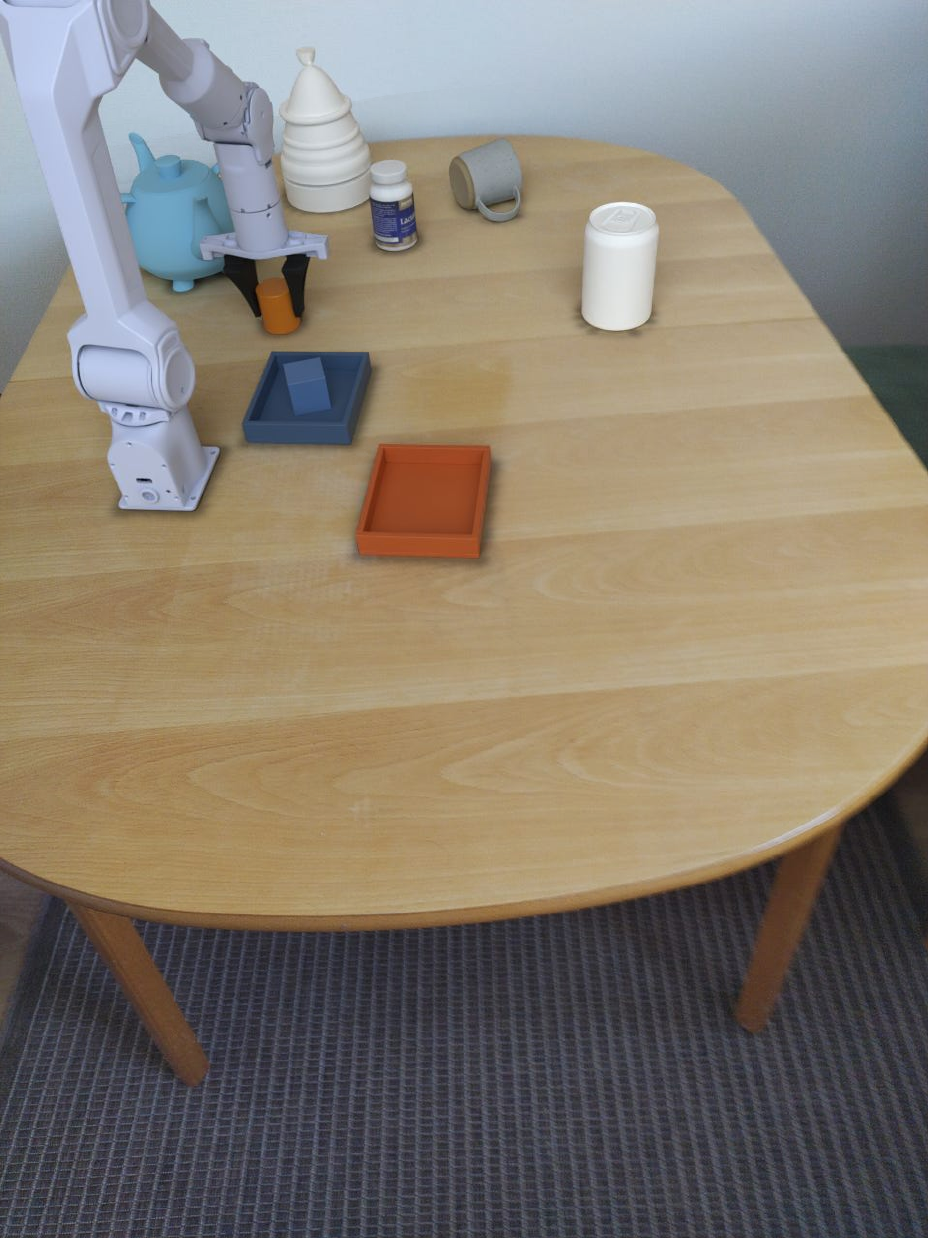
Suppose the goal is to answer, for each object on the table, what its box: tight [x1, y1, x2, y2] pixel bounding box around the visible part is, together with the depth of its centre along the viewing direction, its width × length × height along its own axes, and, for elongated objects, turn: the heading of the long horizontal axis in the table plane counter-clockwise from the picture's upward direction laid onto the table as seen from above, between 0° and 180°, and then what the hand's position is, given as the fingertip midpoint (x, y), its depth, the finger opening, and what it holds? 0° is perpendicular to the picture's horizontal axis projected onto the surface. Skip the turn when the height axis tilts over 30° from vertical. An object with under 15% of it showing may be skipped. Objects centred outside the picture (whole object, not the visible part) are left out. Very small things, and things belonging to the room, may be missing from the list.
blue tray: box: [241, 350, 372, 446], centre depth 103 cm, size 13×11×2 cm
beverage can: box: [581, 201, 660, 332], centre depth 107 cm, size 8×8×12 cm
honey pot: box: [278, 46, 373, 213], centre depth 131 cm, size 13×13×18 cm
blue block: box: [283, 357, 331, 416], centre depth 102 cm, size 4×4×4 cm
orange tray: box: [355, 443, 492, 559], centre depth 90 cm, size 13×11×2 cm
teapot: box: [120, 132, 235, 293], centre depth 120 cm, size 16×20×14 cm
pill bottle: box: [369, 159, 418, 252], centre depth 123 cm, size 6×6×10 cm
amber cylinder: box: [255, 277, 302, 335], centre depth 113 cm, size 4×4×5 cm
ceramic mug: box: [448, 137, 524, 223], centre depth 128 cm, size 11×8×8 cm
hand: (280, 312), depth 113 cm, fingers closed on amber cylinder, 4 cm apart
